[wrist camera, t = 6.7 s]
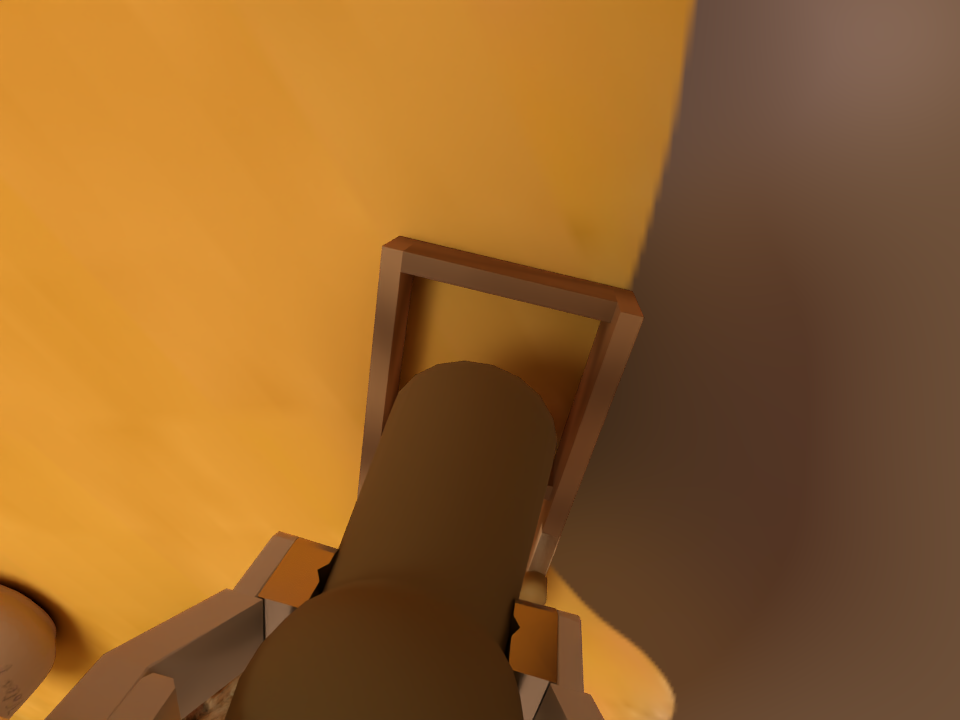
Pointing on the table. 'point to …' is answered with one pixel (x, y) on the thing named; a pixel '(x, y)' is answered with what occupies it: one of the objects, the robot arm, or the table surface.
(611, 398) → the wooden divided frame
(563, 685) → the robot arm
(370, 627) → the cork
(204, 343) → the table surface
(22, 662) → the teacup
